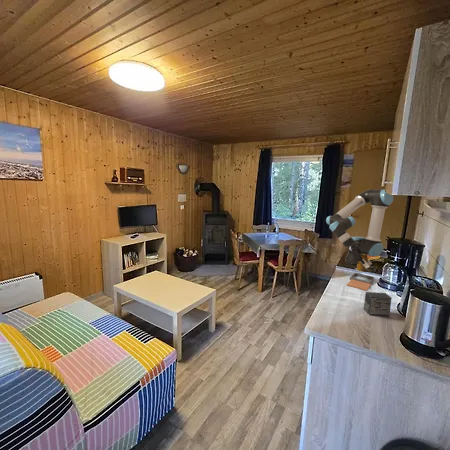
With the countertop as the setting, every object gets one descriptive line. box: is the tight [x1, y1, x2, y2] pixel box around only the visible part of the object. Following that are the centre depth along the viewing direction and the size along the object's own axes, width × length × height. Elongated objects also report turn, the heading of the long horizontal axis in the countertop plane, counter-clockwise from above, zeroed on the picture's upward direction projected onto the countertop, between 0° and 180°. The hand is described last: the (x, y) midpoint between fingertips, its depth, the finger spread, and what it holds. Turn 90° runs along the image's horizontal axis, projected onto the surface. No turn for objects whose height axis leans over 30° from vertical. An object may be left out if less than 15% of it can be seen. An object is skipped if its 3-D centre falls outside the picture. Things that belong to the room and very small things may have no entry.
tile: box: [346, 279, 372, 292], centre depth 162 cm, size 12×12×1 cm
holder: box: [349, 272, 375, 285], centre depth 172 cm, size 13×13×2 cm
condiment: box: [354, 253, 372, 273], centre depth 170 cm, size 7×8×12 cm
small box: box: [363, 291, 393, 317], centre depth 127 cm, size 11×6×10 cm, turn 84°
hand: (369, 266), depth 167 cm, fingers closed on condiment, 6 cm apart
